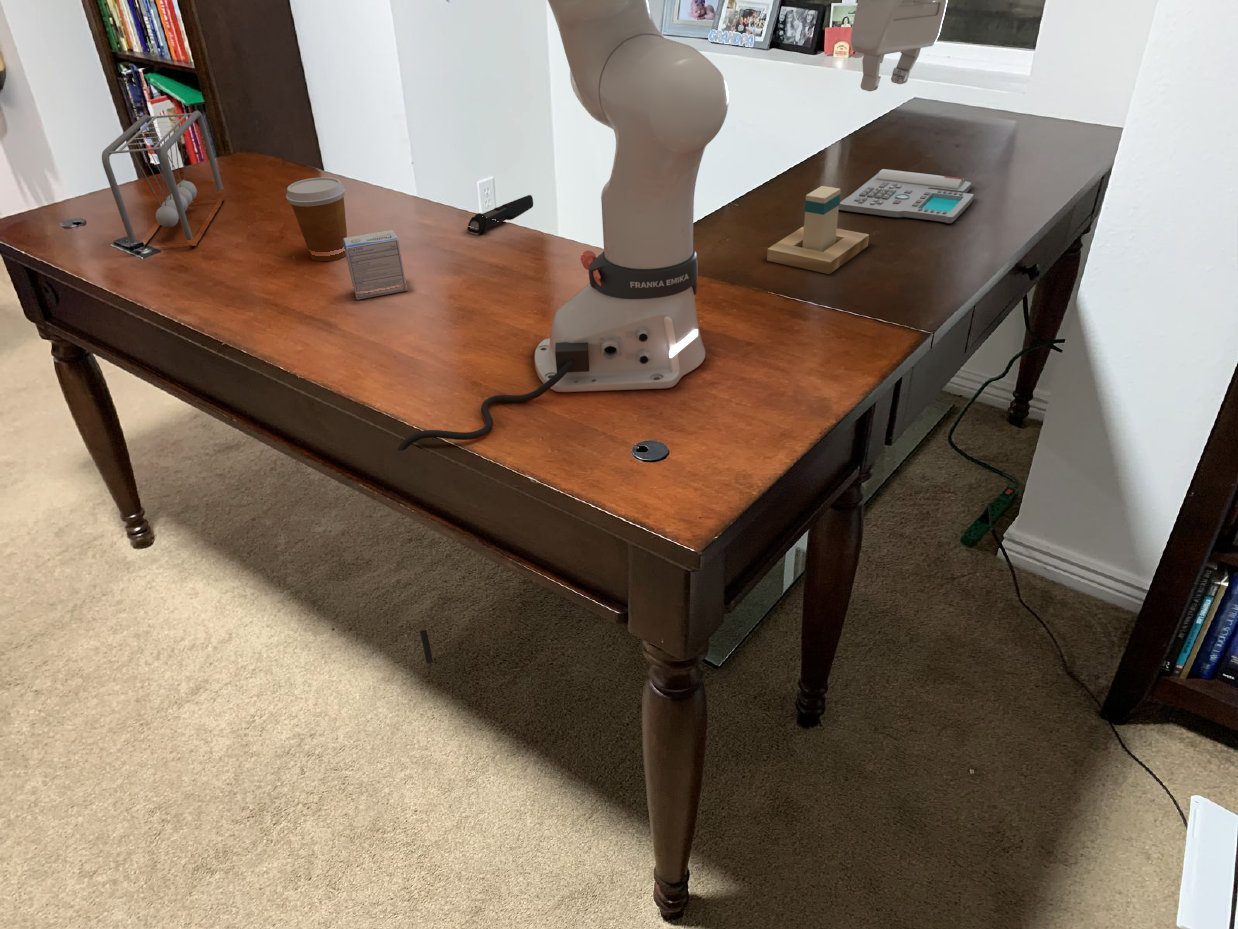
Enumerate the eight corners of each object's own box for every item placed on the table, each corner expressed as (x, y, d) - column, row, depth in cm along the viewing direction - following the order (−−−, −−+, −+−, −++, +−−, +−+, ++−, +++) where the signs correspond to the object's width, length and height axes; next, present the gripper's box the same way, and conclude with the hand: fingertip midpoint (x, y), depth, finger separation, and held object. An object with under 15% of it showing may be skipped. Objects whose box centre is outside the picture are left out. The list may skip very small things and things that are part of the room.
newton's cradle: (173, 203, 187) (144, 112, 177) (226, 198, 188) (201, 107, 178) (133, 256, 162) (97, 153, 152) (195, 250, 163) (163, 147, 153)
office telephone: (881, 163, 181) (986, 175, 171) (879, 176, 182) (984, 189, 173) (839, 196, 164) (953, 211, 155) (837, 210, 166) (950, 226, 157)
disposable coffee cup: (296, 251, 160) (279, 182, 154) (350, 240, 164) (336, 173, 157) (307, 269, 153) (290, 197, 146) (364, 257, 157) (349, 187, 150)
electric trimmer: (539, 212, 173) (538, 195, 171) (481, 236, 163) (479, 218, 161) (524, 208, 175) (523, 192, 173) (466, 232, 165) (464, 214, 163)
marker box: (819, 260, 147) (824, 198, 141) (801, 256, 149) (805, 194, 143) (835, 249, 150) (841, 188, 145) (817, 245, 152) (821, 185, 147)
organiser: (829, 274, 142) (830, 262, 141) (766, 260, 148) (767, 248, 147) (868, 246, 151) (869, 234, 150) (807, 234, 157) (808, 222, 156)
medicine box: (403, 281, 147) (393, 228, 142) (408, 291, 143) (398, 237, 139) (353, 290, 145) (341, 237, 140) (357, 301, 141) (345, 246, 136)
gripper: (924, -38, 122) (893, 73, 129) (857, -37, 107) (827, 87, 115) (970, -29, 119) (935, 84, 126) (907, -26, 105) (872, 100, 112)
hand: (883, 86), depth 121 cm, fingers open, 8 cm apart
